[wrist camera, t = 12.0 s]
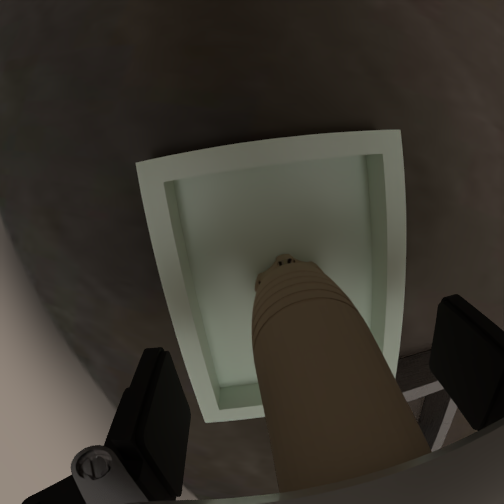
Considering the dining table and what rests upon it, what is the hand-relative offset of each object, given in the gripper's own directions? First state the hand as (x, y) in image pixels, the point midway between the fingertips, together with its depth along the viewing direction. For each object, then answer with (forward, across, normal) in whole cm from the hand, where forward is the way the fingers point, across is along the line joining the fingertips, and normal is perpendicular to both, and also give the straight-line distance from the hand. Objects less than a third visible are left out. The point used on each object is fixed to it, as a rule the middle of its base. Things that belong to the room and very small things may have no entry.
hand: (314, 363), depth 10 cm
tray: (+7, 0, 0) cm, 7 cm away
